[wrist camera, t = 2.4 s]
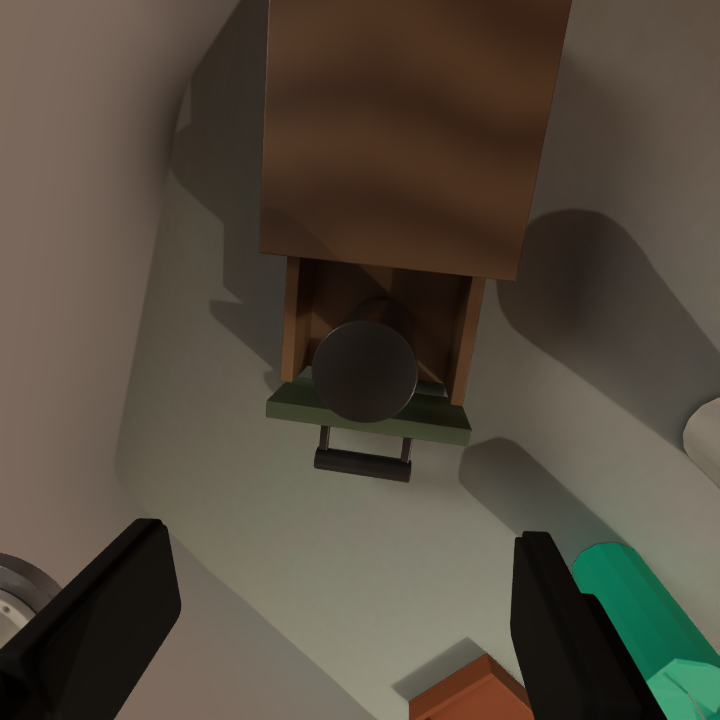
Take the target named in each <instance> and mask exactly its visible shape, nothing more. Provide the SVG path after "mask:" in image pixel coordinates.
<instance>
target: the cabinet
mask: <svg viewBox="0 0 720 720" xmlns="http://www.w3.org/2000/svg"><path fill="white" fill-rule="evenodd" d="M571 3H572V0H269V5H268V31H267V56H266V82H265V107H264V133H263V158H262V184H261V209H260V235H259V253H264V254H273V255H282V256H291V257H300V258H309V259H318V260H327V261H336V262H345V263H355V264H364V265H373V266H382V267H391V268H400V269H409V270H418V271H427V272H436V273H445V274H454V275H463V276H472V277H481V278H491V279H500V280H509V281H515V280H516V277H517V272H518V267H519V262H520V257H521V252H522V247H523V242H524V237H525V232H526V227H527V222H528V217H529V212H530V207H531V202H532V197H533V192H534V187H535V182H536V177H537V172H538V167H539V162H540V157H541V152H542V147H543V142H544V137H545V132H546V127H547V123H548V118H549V113H550V108H551V103H552V98H553V93H554V88H555V83H556V78H557V73H558V68H559V63H560V58H561V53H562V48H563V43H564V38H565V33H566V28H567V23H568V18H569V13H570V8H571Z"/></svg>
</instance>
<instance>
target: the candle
mask: <svg viewBox="0 0 720 720" xmlns="http://www.w3.org/2000/svg"><path fill="white" fill-rule="evenodd" d="M572 571H573V579H574V581H575V582H576V584H577V586H578V588H579V590H580V592H581V593H589V594H594V595H595V596H596V597H597V598H598V600H599V601H600V603H601V604H602V606H603V608H604V609H605V611H606V613H607V615H608V616H609V618H610V620H611V622H612V623H613V625H614V627H615V629H616V630H617V632H618V634H619V636H620V637H621V639H622V641H623V643H624V644H625V646H626V648H627V650H628V651H629V653H630V655H631V657H632V658H633V660H634V662H635V664H636V665H637V667H638V669H639V671H640V672H641V674H642V676H643V677H644V679H645V681H646V683H647V684H648V686H649V688H650V690H651V691H652V693H653V695H654V697H655V698H656V700H657V702H658V704H659V705H660V707H661V709H662V711H663V712H664V714H665V716H666V718H667V719H668V720H720V656H719V655H718V654H717V653H716V651H715V650H714V649H713V648H712V646H711V645H710V644H709V642H708V641H707V640H706V639H705V637H704V636H703V635H702V634H701V632H700V631H699V630H698V629H697V627H696V626H695V625H694V624H693V622H692V621H691V620H690V619H689V617H688V616H687V615H686V614H685V612H684V611H683V610H682V609H681V607H680V606H679V605H678V604H677V602H676V601H675V600H674V599H673V597H672V596H671V595H670V594H669V592H668V591H667V590H666V589H665V587H664V586H663V585H662V584H661V582H660V581H659V580H658V579H657V577H656V576H655V575H654V574H653V572H652V571H651V570H650V568H649V567H648V566H647V565H646V563H645V562H644V561H643V560H642V558H641V557H640V556H639V555H638V553H637V552H636V551H635V550H634V549H632V548H629V547H627V546H624V545H622V544H619V543H602V544H596V545H594V546H592V547H591V548H589V549H587V550H585V551H583V552H581V553H580V555H579V557H578V558H577V560H576V561H575V563H574V564H573V566H572Z"/></svg>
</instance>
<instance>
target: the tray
mask: <svg viewBox="0 0 720 720" xmlns="http://www.w3.org/2000/svg"><path fill="white" fill-rule="evenodd" d="M409 720H534V716H533V712H532V709H531V705H530V702H529V698H528V695H527V691H526V690H525V689H524V688H523V687H522V686H521V685H520V684H519V683H518V682H517V681H516V680H515V679H514V678H513V677H512V676H511V675H510V674H508V673H507V672H506V671H505V670H504V669H503V668H502V667H501V666H500V665H499V664H498V663H497V662H496V661H495V660H494V659H492V658H491V657H490V656H489V655H488V654H487V653H486V654H485V655H483V656H482V657H480V658H478V659H477V660H475V661H474V662H472V663H470V664H469V665H467V666H466V667H464V668H462V669H461V670H459V671H458V672H456V673H454V674H453V675H451V676H450V677H448V678H446V679H445V680H443V681H441V682H440V683H438V684H437V685H435V686H433V687H432V688H430V689H429V690H427V691H425V692H424V693H422V694H421V695H419V696H417V697H416V698H414V699H413V700H411V701H409Z"/></svg>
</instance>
